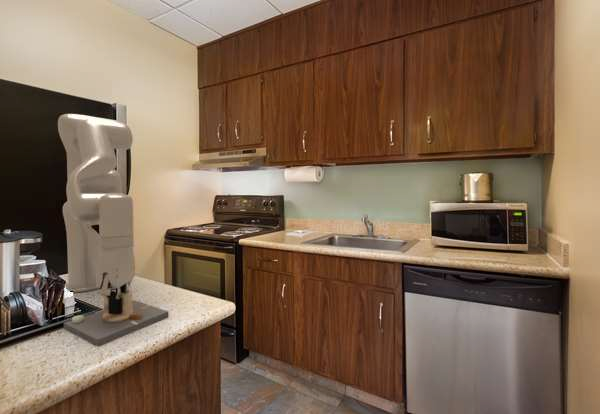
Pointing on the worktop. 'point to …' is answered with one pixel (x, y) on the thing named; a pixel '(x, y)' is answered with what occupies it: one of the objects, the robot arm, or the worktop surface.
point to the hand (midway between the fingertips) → (118, 310)
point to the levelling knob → (126, 309)
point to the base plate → (113, 324)
